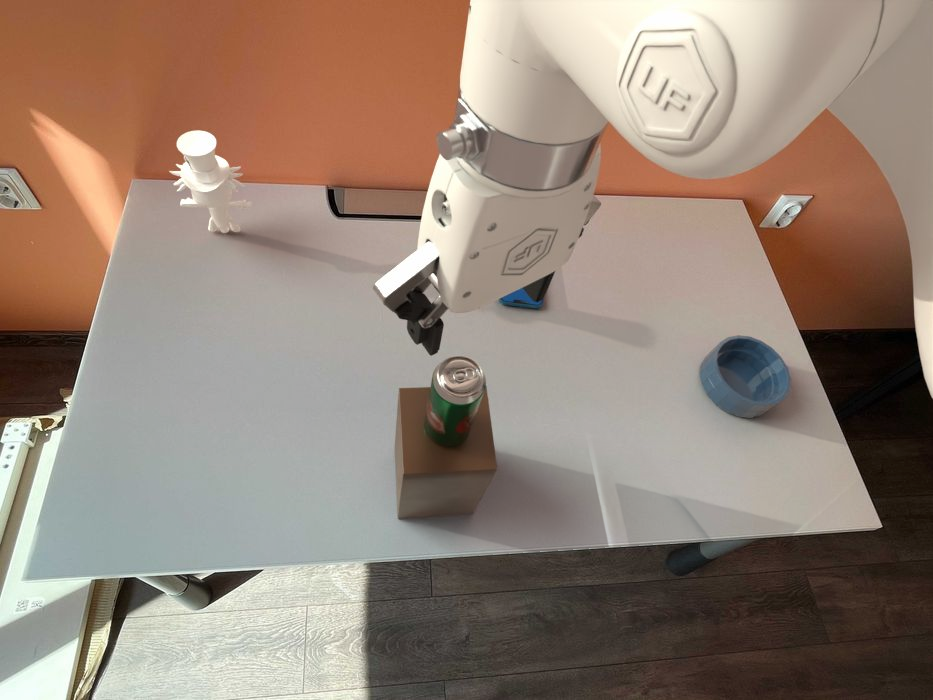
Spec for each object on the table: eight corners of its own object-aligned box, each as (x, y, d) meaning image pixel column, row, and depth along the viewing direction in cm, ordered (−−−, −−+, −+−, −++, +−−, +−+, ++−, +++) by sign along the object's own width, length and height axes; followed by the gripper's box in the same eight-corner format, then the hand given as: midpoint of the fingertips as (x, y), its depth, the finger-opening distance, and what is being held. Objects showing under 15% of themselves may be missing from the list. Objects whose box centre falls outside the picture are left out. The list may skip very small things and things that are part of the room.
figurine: (260, 215, 98) (239, 126, 82) (256, 250, 94) (233, 164, 78) (195, 213, 96) (160, 122, 81) (188, 249, 92) (150, 160, 77)
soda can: (418, 411, 64) (426, 357, 53) (462, 401, 65) (478, 347, 55) (430, 453, 61) (441, 405, 51) (475, 442, 63) (495, 393, 52)
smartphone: (541, 238, 102) (543, 306, 94) (539, 242, 103) (542, 310, 95) (500, 233, 102) (499, 301, 94) (499, 237, 102) (498, 305, 94)
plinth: (465, 442, 82) (486, 385, 66) (473, 513, 77) (497, 469, 61) (394, 446, 80) (398, 387, 65) (397, 519, 75) (403, 474, 60)
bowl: (786, 396, 93) (806, 382, 89) (737, 432, 89) (756, 419, 84) (732, 340, 98) (748, 323, 93) (683, 371, 93) (697, 356, 89)
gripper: (421, 233, 25) (404, 403, 39) (693, 123, 31) (592, 304, 46) (339, 126, 28) (351, 322, 42) (604, 45, 34) (536, 239, 49)
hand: (477, 312), depth 44 cm, fingers open, 9 cm apart
